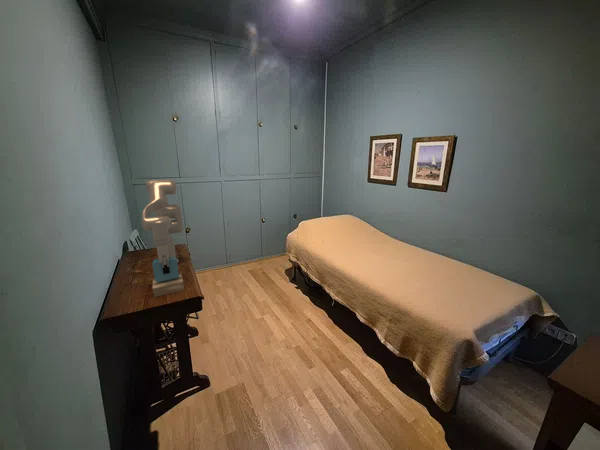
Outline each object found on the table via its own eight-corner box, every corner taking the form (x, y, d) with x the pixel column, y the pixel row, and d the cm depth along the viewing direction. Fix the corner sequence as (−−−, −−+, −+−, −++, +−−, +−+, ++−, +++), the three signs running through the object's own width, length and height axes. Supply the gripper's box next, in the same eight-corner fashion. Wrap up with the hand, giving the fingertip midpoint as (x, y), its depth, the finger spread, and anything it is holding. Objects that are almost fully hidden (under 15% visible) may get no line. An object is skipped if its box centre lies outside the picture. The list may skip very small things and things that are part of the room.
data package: (178, 274, 141) (176, 255, 138) (179, 277, 137) (176, 258, 134) (155, 279, 135) (152, 259, 132) (155, 282, 132) (151, 262, 128)
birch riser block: (154, 286, 139) (152, 278, 138) (182, 280, 147) (181, 273, 146) (154, 297, 129) (152, 288, 127) (184, 289, 136) (183, 282, 135)
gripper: (154, 238, 136) (158, 267, 140) (154, 247, 122) (159, 279, 126) (168, 236, 139) (173, 264, 144) (170, 244, 125) (174, 276, 130)
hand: (166, 271), depth 135 cm, fingers closed on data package, 4 cm apart
